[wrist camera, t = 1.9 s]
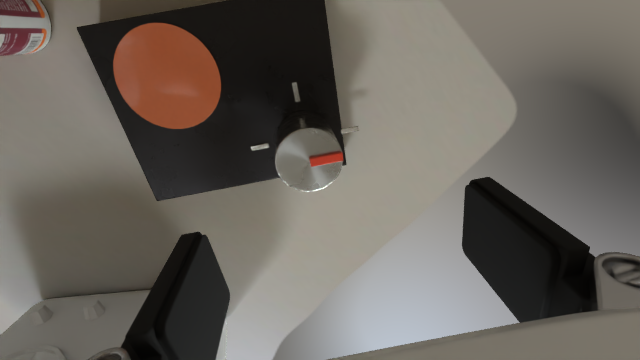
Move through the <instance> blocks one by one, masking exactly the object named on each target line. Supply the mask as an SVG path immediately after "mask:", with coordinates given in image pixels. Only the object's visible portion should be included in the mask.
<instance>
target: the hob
mask: <svg viewBox="0 0 640 360" xmlns="http://www.w3.org/2000/svg"><path fill="white" fill-rule="evenodd" d="M147 23H166V24H171V25H175V26H178V27H180V28H182V29H185V30H186V31H188V32H190V33H191V34H193V35H194V36H195V37H197V38H198V39H199V40H200V41H201V42H202V43H203V44H204V45H205V46H206V47H207V48H208V50H209V51H210V52H211V54H212V56H213V57H214V59H215V61H216V63H217V66H218V69H219V72H220V76H221V94H220V99H219V102H218V104H217V106H216V108H215V110H214V111H213V113H212V114H211V115H210V116H209V117H208V118H207V119H206V120H204V121H203V122H201V123H200V124H198V125H195V126H193V127H189V128H183V129H171V128H165V127H161V126H158V125H156V124H153V123H151V122H149V121H147V120H146V119H144V118H143V117H141V116H140V115H139V114H137V113H136V112H135V111H134V110H133V109H132V108H131V107H130V106H129V105H128V104H127V102H126V101H125V100H124V98H123V97H122V95H121V93H120V91H119V89H118V87H117V84H116V81H115V77H114V70H113V60H114V55H115V51H116V48H117V46H118V44H119V42H120V41H121V40H122V38H123V37H124V36H125V35H126V34H127V33H128V32H129V31H131V30H132V29H134V28H136V27H138V26H140V25H144V24H147ZM77 30H78V32H79V34H80V36H81V39H82V41H83V43H84V45H85V47H86V49H87V52H88V54H89V56H90V58H91V60H92V62H93V64H94V67H95V69H96V71H97V73H98V75H99V77H100V79H101V82H102V84H103V86H104V88H105V90H106V92H107V95H108V97H109V99H110V101H111V103H112V105H113V107H114V110H115V112H116V114H117V116H118V118H119V120H120V122H121V125H122V127H123V129H124V131H125V133H126V135H127V138H128V140H129V142H130V144H131V146H132V148H133V150H134V153H135V155H136V157H137V159H138V161H139V163H140V165H141V168H142V170H143V172H144V174H145V176H146V178H147V181H148V183H149V185H150V187H151V189H152V191H153V193H154V196H155V198H156V200H157V201H160V200H166V199H171V198H176V197H181V196H187V195H192V194H197V193H202V192H208V191H213V190H218V189H223V188H228V187H234V186H239V185H244V184H249V183H255V182H260V181H265V180H270V179H276V178H280V176H279V175H278V173H277V170H276V167H275V150H276V140H277V132H278V129H279V126H280V124H281V123H282V121H283V120H284V119H285V118H286V117H288V116H289V115H291V114H292V113H295V112H298V111H312V112H315V113H318V114H319V115H321V116H322V117H324V118H325V119H326V120H327V122H328V123H329V125H330V127H331V129H332V131H333V133H334V135H335V137H336V139H337V141H338V143H339V145H340V147H341V150H342V153H343V164H342V166H344V165H346V158H345V150H344V143H343V136H342V134H344V133H349V132H354V131H359V129H358V126H355V127H349V128H344V129H342V128H341V121H340V113H339V106H338V98H337V91H336V83H335V76H334V68H333V61H332V54H331V46H330V39H329V31H328V24H327V16H326V9H325V1H324V0H227V1H222V2H216V3H211V4H205V5H199V6H194V7H188V8H182V9H177V10H171V11H165V12H160V13H154V14H149V15H143V16H137V17H132V18H126V19H120V20H115V21H109V22H103V23H98V24H92V25H86V26H81V27H77Z"/></svg>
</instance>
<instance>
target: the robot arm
mask: <svg viewBox="0 0 640 360" xmlns="http://www.w3.org/2000/svg"><path fill="white" fill-rule="evenodd" d="M462 247H463V251H464V253H465V255H466V256H467V257H468V259H469V260H470V261H471V263H472V264H473V265H474V266H475V267H476V268H477V270H478V271H479V272H480V274H481V275H482V276H483V277H484V279H485V280H486V281H487V282H488V284H489V285H490V286H491V287H492V289H493V290H494V291H495V292H496V293H497V295H498V296H499V297H500V298H501V300H502V301H503V302H504V303H505V305H506V306H507V307H508V308H509V310H510V311H511V312H512V313H513V315H514V316H515V317H516V318H517V320H518V321H519V322H520V323H516V324H511V325H506V326H500V327H495V328H490V329H484V330H479V331H474V332H468V333H463V334H458V335H453V336H447V337H442V338H437V339H431V340H427V341H421V342H415V343H410V344H405V345H400V346H395V347H389V348H384V349H380V350H375V351H369V352H364V353H359V354H353V355H348V356H343V357H339V358H333V359H328V360H640V257H639V256H635V255H632V254H627V253H619V252H609V253H603V254H600V255H599V256H597V257H594V256H593V255H592V254H590V253H589V249H590V247H589V246H588V245H586V244H585V243H583V242H582V241H580V240H579V239H577V238H576V237H574V236H573V235H572V234H570V233H569V232H568V231H566V230H565V229H563V228H562V227H560V226H559V225H557V224H556V223H555V222H553V221H552V220H550V219H549V218H547V217H546V216H545V215H543V214H542V213H540V212H539V211H537V210H536V209H534V208H533V207H532V206H530V205H529V204H527V203H526V202H525V201H523V200H522V199H520V198H519V197H517V196H516V195H514V194H513V193H512V192H510V191H509V190H507V189H506V188H504V187H503V186H502V185H500V184H499V183H497V182H496V181H495V180H493V179H492V178H490V177H485V178H480V179H474V180H471V181H470V183H469V185H467V186H466V187H465V200H464V221H463V237H462ZM229 300H230V293H229V289H228V286H227V284H226V281H225V279H224V277H223V274H222V272H221V269H220V267H219V264H218V262H217V259H216V257H215V254H214V252H213V249H212V247H211V245H210V242H209V240H208V237H207V236H206V235H202V234H201V233H200V232H194V233H189V234H184V235H181V237H180V238H179V240H178V242H177V244H176V245H175V247H174V249H173V251H172V253H171V255H170V256H169V258H168V260H167V262H166V264H165V265H164V267H163V269H162V271H161V273H160V274H159V276H158V278H157V280H156V282H155V283H154V285H153V287H152V289H151V291H150V292H149V294H148V296H147V298H146V300H145V301H144V303H143V305H142V307H141V309H140V310H139V312H138V314H137V316H136V318H135V319H134V321H133V323H132V325H131V327H130V328H129V330H128V332H127V334H126V336H125V337H126V338H125V340H124V341H123V343H122V345H121V347H114V348H109V349H106V350H103V351H101V352H99V353H97V354H95V355H93V356H92V357H90V358H89V359H88V360H216V356H217V352H218V348H219V343H220V339H221V335H222V330H223V326H224V322H225V318H226V313H227V309H228V305H229Z"/></svg>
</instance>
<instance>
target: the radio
mask: <svg viewBox="0 0 640 360" xmlns="http://www.w3.org/2000/svg"><path fill="white" fill-rule="evenodd" d="M150 291H151V290H141V291H130V292H119V293H108V294H96V295H85V296H74V297H63V298H52V299H47V300H43V301H41V302H39V303H37V304H35V305H34V306H32V307H31V308H30V309H29V310H28V311H27V312H26V313H25V314H24V315H22V316H21V317H20V318H19V319H18V320H17V321H16V322H15V323H14V324H12V325H11V326H10V327H9V328H8V329H7V330H6V331H5V332H4V333H2V334H1V335H0V360H88V359H89V358H90V357H92V356H93V355H95V354H97V353H99V352H101V351H103V350H106V349H109V348H114V347H121V345H122V343H123V341H124V340H125V338H126V337H125V336H126V334H127V332H128V330H129V328H130V327H131V325H132V323H133V321H134V319H135V318H136V316H137V314H138V312H139V310H140V309H141V307H142V305H143V303H144V301H145V300H146V298H147V296H148V294H149V292H150ZM226 347H227V322H226V318H225V322H224V326H223V330H222V335H221V339H220V343H219V348H218V352H217V356H216V360H226Z"/></svg>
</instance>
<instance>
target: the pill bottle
mask: <svg viewBox="0 0 640 360" xmlns="http://www.w3.org/2000/svg"><path fill="white" fill-rule="evenodd" d="M50 36H51V23H50V19H49V15H48V13H47V11H46V9H45V7H44V6H43V4H42V3H41V1H40V0H0V56H3V55H19V54H31V53H35V52H37V51H40V50H41V49H43V48H44V47H45V46H46V45H47V43H48V42H49V39H50Z"/></svg>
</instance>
